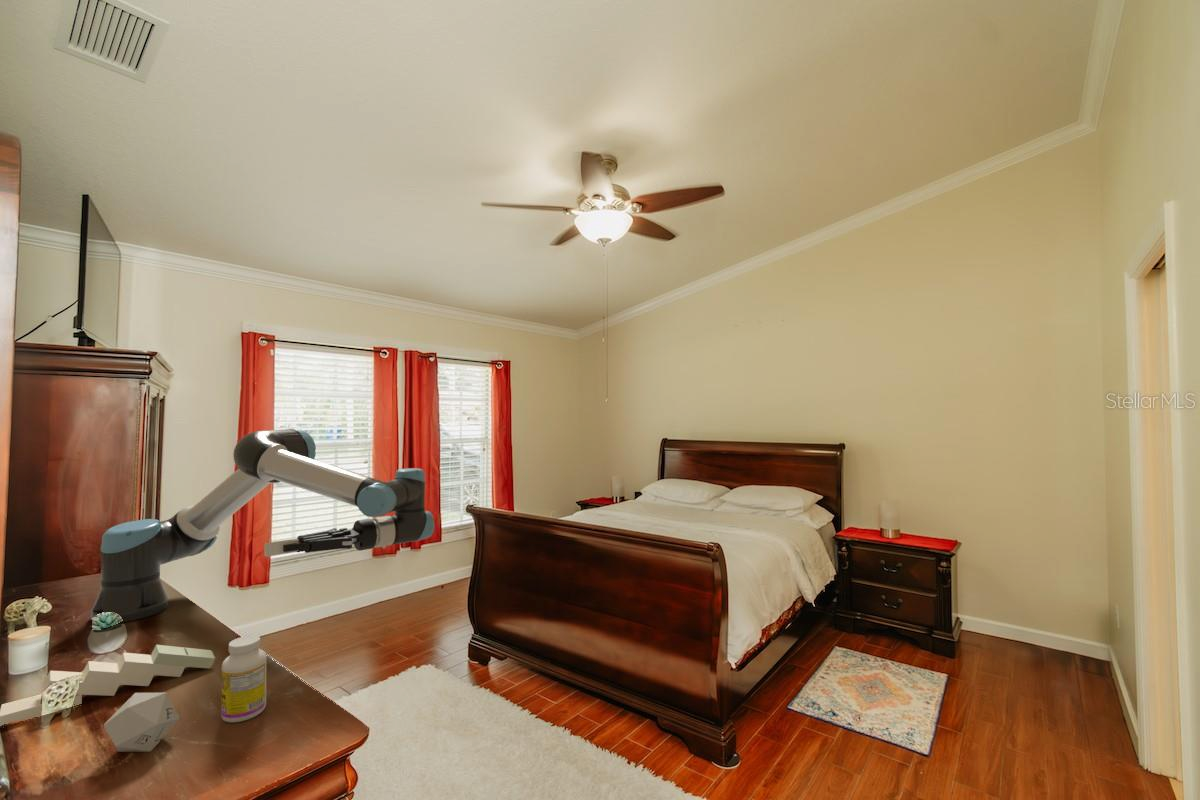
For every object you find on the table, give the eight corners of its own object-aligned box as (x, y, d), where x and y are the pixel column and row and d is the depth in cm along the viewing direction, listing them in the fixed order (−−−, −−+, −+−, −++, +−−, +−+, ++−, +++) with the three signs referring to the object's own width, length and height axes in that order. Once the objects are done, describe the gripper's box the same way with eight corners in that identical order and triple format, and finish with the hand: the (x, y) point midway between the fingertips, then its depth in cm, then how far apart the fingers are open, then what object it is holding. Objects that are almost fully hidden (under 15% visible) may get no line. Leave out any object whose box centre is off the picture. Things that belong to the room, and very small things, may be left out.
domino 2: (117, 674, 103) (50, 670, 96) (119, 684, 99) (50, 680, 93) (111, 685, 102) (43, 682, 96) (113, 695, 99) (43, 693, 92)
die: (114, 776, 78) (166, 712, 81) (76, 741, 80) (127, 680, 83) (157, 761, 86) (202, 704, 89) (121, 729, 87) (166, 674, 90)
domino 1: (81, 683, 99) (1, 704, 92) (81, 694, 96) (-2, 716, 89) (81, 694, 99) (1, 715, 92) (81, 705, 96) (-2, 728, 89)
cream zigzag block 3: (151, 665, 106) (88, 660, 100) (153, 675, 103) (89, 670, 96) (145, 676, 106) (82, 672, 99) (148, 686, 102) (82, 682, 96)
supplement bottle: (227, 707, 95) (228, 635, 95) (270, 699, 97) (270, 630, 98) (215, 728, 89) (216, 651, 89) (261, 719, 91) (261, 645, 91)
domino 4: (211, 650, 113) (156, 644, 107) (215, 658, 110) (158, 653, 103) (206, 660, 113) (150, 654, 106) (210, 668, 109) (153, 663, 103)
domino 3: (181, 657, 110) (123, 652, 104) (185, 666, 106) (125, 661, 100) (176, 667, 109) (117, 663, 103) (180, 677, 106) (119, 672, 99)
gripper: (382, 553, 129) (271, 573, 113) (363, 543, 139) (258, 560, 123) (382, 522, 129) (272, 538, 113) (363, 514, 139) (259, 528, 123)
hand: (265, 549), depth 118 cm, fingers closed
